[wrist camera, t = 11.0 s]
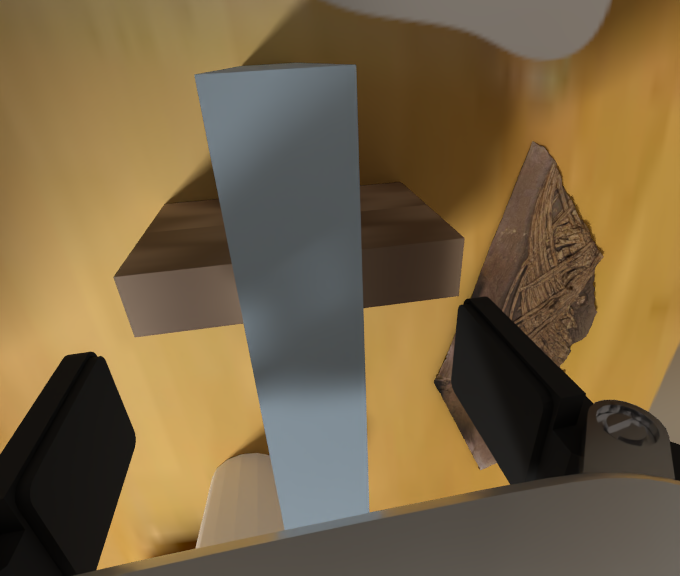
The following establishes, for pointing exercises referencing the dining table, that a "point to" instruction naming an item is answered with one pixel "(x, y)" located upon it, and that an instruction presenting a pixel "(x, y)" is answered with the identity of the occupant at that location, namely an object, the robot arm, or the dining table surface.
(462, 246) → the wood grain block
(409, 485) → the dining table surface
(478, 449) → the wooden fragment
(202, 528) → the white topped beige cylinder
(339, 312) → the blue-grey notched panel
